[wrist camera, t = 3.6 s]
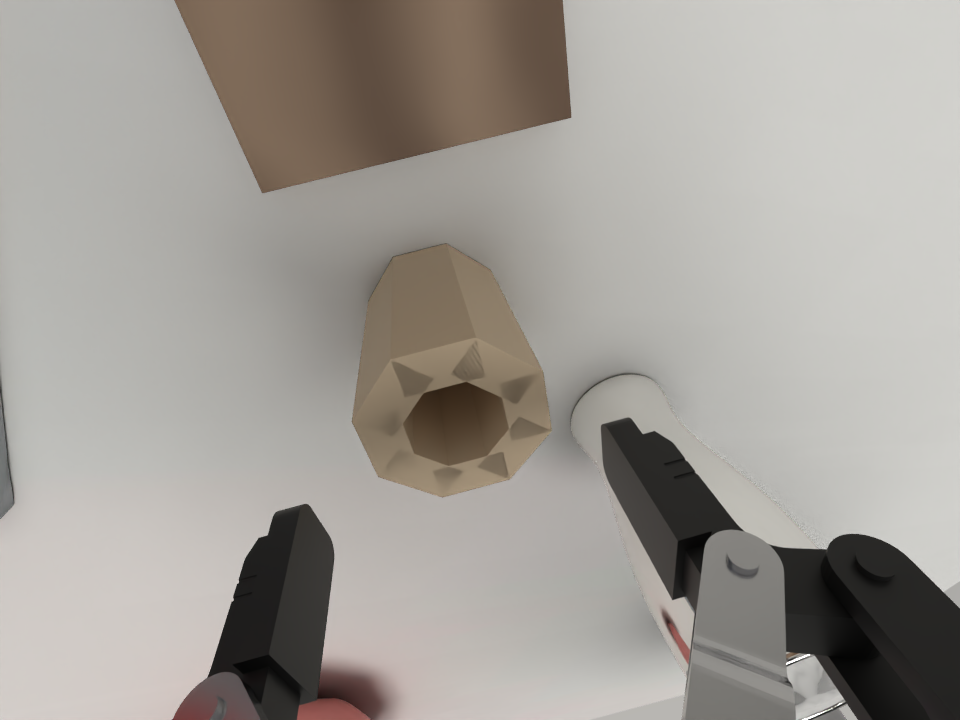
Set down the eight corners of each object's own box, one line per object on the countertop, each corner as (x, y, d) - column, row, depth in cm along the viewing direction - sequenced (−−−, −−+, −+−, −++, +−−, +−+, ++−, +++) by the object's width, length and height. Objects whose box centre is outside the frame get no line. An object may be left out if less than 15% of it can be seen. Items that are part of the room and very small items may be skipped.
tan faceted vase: (483, 234, 20) (535, 321, 12) (505, 344, 23) (557, 466, 16) (355, 266, 20) (329, 375, 12) (395, 372, 23) (394, 509, 16)
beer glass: (616, 347, 25) (846, 619, 12) (692, 395, 27) (943, 655, 15) (540, 433, 27) (665, 732, 14) (617, 468, 30) (777, 744, 17)
